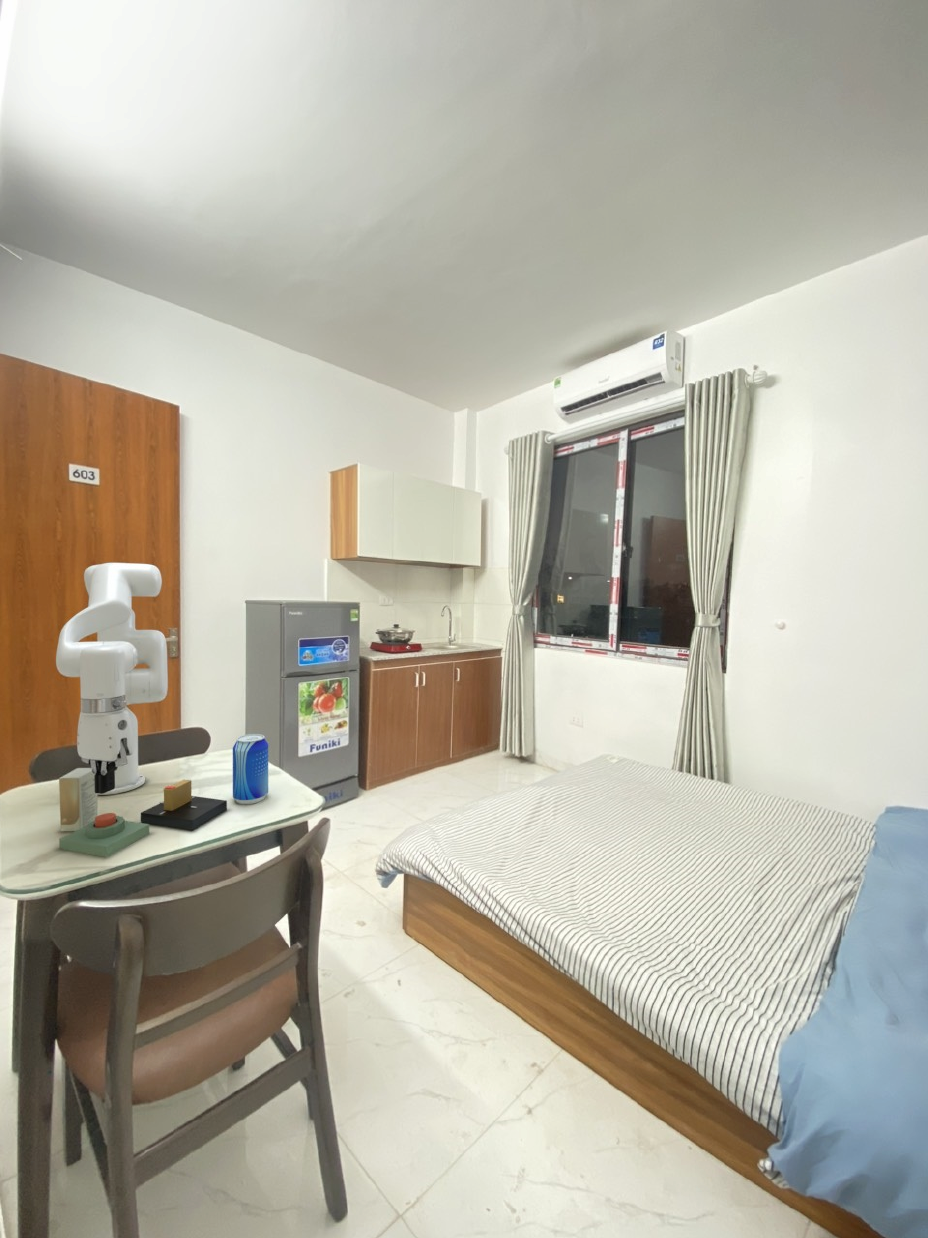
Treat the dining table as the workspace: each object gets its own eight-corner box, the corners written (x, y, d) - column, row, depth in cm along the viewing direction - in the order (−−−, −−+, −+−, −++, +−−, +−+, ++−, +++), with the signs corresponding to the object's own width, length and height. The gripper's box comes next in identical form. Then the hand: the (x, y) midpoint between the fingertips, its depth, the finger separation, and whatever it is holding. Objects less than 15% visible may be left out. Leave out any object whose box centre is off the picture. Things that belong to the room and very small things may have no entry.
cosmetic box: (79, 819, 114) (78, 767, 114) (99, 818, 115) (98, 767, 114) (58, 832, 108) (57, 777, 107) (79, 832, 108) (78, 777, 108)
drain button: (90, 827, 103) (90, 819, 103) (106, 819, 107) (106, 812, 106) (104, 829, 102) (104, 821, 102) (120, 822, 106) (120, 814, 106)
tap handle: (183, 799, 120) (183, 778, 120) (191, 800, 120) (191, 779, 119) (163, 810, 114) (163, 787, 114) (171, 811, 114) (171, 788, 113)
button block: (59, 849, 101) (58, 830, 101) (105, 827, 111) (104, 809, 111) (106, 857, 98) (106, 838, 98) (149, 834, 108) (149, 816, 108)
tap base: (140, 823, 113) (140, 812, 113) (178, 803, 124) (178, 793, 123) (192, 831, 110) (192, 819, 109) (227, 810, 120) (227, 799, 120)
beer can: (255, 807, 122) (255, 743, 122) (225, 803, 124) (225, 740, 123) (274, 794, 131) (274, 734, 130) (246, 790, 132) (246, 731, 131)
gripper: (148, 703, 105) (149, 788, 106) (92, 698, 108) (93, 781, 109) (116, 711, 98) (117, 802, 99) (57, 706, 101) (58, 794, 102)
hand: (105, 791), depth 104 cm, fingers closed
